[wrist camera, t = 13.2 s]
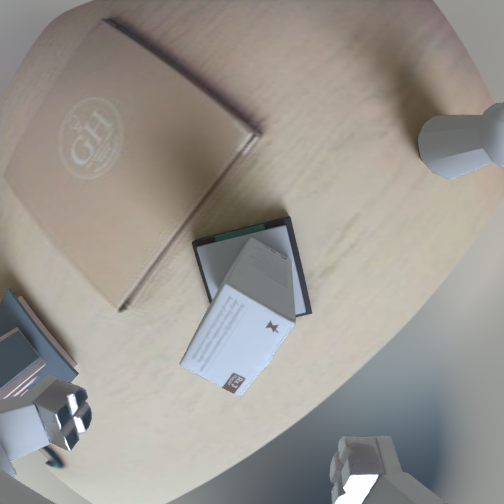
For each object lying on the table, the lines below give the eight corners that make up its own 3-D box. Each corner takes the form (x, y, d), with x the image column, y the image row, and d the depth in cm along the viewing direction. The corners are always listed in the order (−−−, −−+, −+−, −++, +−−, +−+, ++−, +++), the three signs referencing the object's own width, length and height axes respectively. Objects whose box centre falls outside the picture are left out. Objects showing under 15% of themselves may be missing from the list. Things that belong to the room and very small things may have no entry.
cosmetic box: (249, 234, 27) (220, 273, 15) (295, 261, 27) (300, 319, 15) (215, 293, 28) (170, 363, 17) (258, 318, 29) (240, 400, 17)
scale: (194, 239, 30) (189, 243, 28) (289, 216, 28) (290, 218, 26) (221, 327, 31) (217, 335, 29) (311, 308, 30) (312, 316, 28)
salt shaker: (439, 109, 24) (519, 76, 12) (468, 160, 25) (556, 155, 12) (398, 137, 26) (471, 109, 13) (429, 189, 26) (514, 198, 13)
